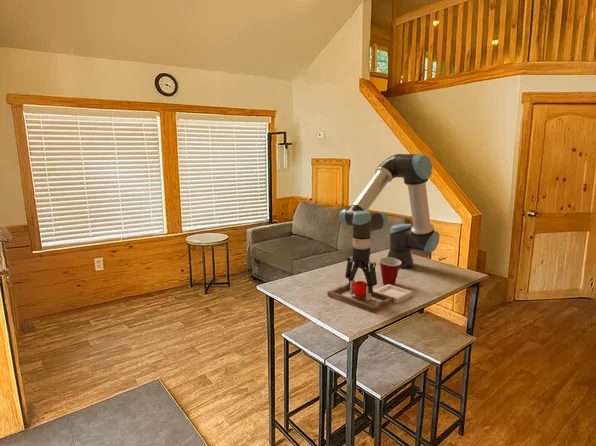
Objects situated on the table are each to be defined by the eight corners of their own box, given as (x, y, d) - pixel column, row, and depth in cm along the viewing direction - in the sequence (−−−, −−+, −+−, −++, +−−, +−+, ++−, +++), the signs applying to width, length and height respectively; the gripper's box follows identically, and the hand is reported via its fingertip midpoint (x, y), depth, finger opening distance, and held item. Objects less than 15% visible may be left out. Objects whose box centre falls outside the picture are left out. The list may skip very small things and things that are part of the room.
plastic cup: (389, 289, 176) (390, 265, 174) (373, 282, 185) (374, 259, 182) (405, 284, 182) (406, 261, 179) (388, 278, 191) (389, 255, 188)
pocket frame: (348, 287, 179) (348, 283, 179) (393, 302, 162) (394, 297, 161) (327, 295, 169) (327, 291, 169) (373, 312, 152) (373, 308, 151)
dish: (388, 288, 178) (388, 284, 177) (412, 295, 169) (412, 291, 168) (372, 295, 169) (372, 291, 169) (397, 303, 160) (397, 298, 160)
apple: (348, 296, 167) (348, 281, 165) (360, 292, 171) (360, 277, 170) (361, 302, 160) (361, 286, 159) (373, 297, 165) (374, 281, 163)
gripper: (337, 244, 166) (336, 292, 170) (376, 253, 151) (375, 306, 156) (347, 241, 171) (347, 288, 175) (387, 249, 156) (385, 300, 161)
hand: (360, 296), depth 166 cm, fingers closed on apple, 8 cm apart
